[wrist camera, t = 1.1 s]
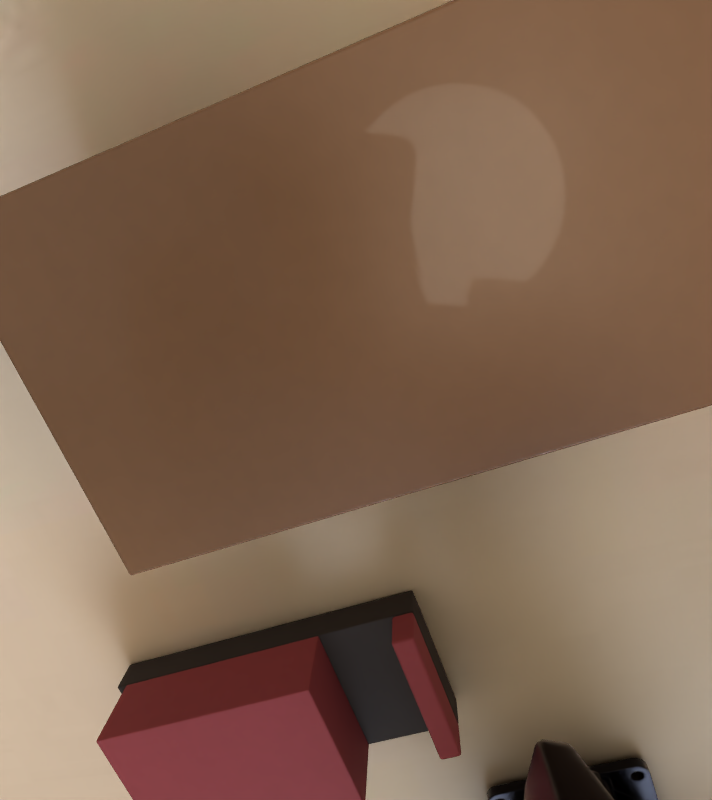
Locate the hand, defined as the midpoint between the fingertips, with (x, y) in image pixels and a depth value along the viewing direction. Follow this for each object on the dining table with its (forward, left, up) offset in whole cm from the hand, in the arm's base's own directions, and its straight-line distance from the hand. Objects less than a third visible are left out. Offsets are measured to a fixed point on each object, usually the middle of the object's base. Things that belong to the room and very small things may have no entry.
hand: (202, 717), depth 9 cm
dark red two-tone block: (-11, +6, -14) cm, 18 cm away
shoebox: (+4, -3, -14) cm, 14 cm away
